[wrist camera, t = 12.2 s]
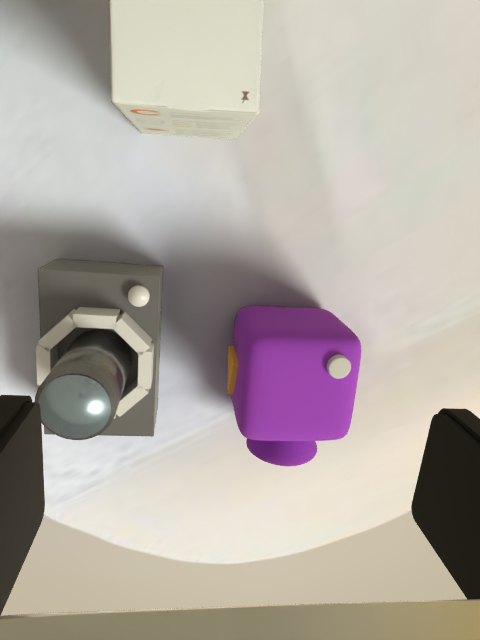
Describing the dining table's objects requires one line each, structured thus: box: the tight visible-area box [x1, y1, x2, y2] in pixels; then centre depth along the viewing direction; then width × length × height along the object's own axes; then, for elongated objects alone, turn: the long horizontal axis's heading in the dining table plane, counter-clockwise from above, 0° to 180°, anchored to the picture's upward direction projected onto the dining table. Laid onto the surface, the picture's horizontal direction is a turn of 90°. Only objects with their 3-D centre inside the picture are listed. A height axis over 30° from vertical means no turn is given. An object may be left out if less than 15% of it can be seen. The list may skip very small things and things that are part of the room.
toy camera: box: [228, 306, 361, 466], centre depth 38 cm, size 11×14×10 cm
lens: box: [35, 329, 132, 440], centre depth 32 cm, size 5×5×8 cm
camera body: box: [36, 259, 163, 436], centre depth 37 cm, size 14×9×7 cm, turn 175°
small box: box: [109, 0, 264, 139], centre depth 29 cm, size 8×6×13 cm
